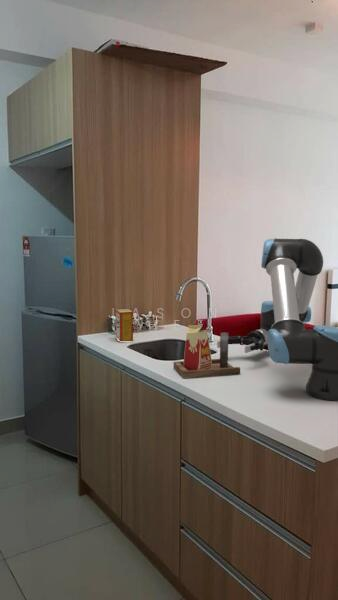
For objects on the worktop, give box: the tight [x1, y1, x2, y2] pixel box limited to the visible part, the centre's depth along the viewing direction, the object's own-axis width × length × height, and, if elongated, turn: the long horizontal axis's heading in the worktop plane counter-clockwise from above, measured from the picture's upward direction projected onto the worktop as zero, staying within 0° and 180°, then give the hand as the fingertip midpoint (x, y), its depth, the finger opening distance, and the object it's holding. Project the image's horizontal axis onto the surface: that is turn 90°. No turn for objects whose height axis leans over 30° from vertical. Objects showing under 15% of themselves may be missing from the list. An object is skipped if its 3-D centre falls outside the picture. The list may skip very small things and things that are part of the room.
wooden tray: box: [173, 332, 241, 379], centre depth 193 cm, size 15×23×15 cm, turn 105°
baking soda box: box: [115, 308, 134, 342], centre depth 247 cm, size 10×6×16 cm
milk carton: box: [183, 323, 213, 370], centre depth 192 cm, size 9×9×20 cm
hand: (231, 347), depth 200 cm, fingers open, 13 cm apart
